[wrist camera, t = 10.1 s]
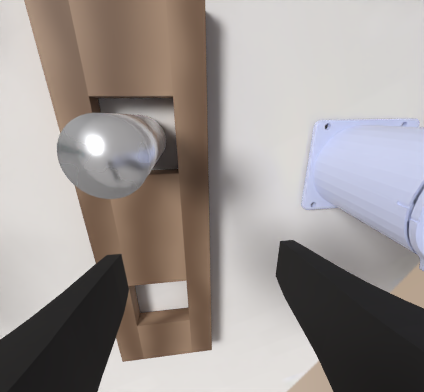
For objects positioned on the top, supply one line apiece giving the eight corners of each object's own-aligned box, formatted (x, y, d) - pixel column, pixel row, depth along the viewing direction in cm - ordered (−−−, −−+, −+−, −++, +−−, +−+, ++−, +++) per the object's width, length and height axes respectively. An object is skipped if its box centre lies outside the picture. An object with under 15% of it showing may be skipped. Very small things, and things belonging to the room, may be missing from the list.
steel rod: (165, 116, 15) (147, 116, 8) (166, 163, 17) (150, 199, 9) (116, 113, 15) (47, 109, 8) (120, 161, 16) (66, 198, 9)
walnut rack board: (203, 8, 13) (204, -4, 12) (210, 337, 25) (211, 349, 24) (39, 1, 12) (20, -13, 11) (126, 347, 24) (122, 361, 23)
